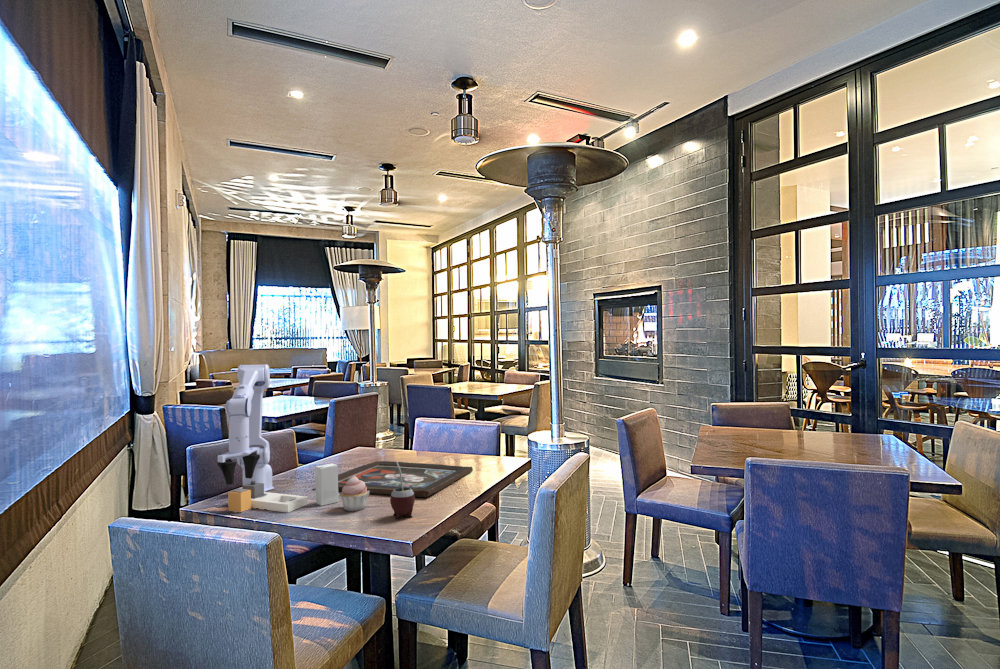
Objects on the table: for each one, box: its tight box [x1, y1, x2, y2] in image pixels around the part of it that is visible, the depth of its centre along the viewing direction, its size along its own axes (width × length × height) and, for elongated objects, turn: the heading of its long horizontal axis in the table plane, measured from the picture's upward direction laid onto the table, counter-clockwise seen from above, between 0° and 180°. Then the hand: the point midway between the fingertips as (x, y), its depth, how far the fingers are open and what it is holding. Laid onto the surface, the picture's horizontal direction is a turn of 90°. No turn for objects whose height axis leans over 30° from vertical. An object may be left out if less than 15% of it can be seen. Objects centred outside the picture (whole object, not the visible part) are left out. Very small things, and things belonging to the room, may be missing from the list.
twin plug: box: [241, 481, 264, 499], centre depth 184 cm, size 4×5×7 cm
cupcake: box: [338, 476, 370, 512], centre depth 176 cm, size 9×9×10 cm
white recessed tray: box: [251, 491, 309, 513], centre depth 182 cm, size 9×24×3 cm, turn 69°
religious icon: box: [338, 460, 474, 498], centre depth 211 cm, size 40×45×3 cm
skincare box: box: [314, 462, 339, 506], centre depth 183 cm, size 6×4×12 cm
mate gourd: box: [389, 461, 416, 521], centre depth 168 cm, size 8×8×15 cm
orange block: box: [227, 487, 252, 513], centre depth 176 cm, size 4×5×6 cm
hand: (239, 481), depth 176 cm, fingers open, 7 cm apart
